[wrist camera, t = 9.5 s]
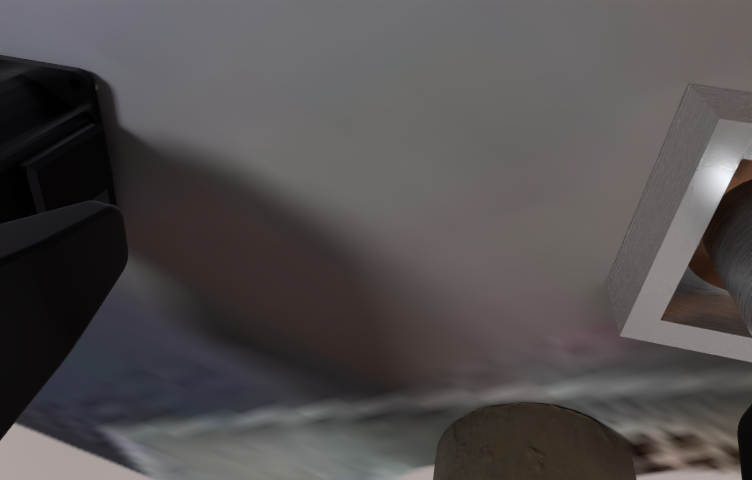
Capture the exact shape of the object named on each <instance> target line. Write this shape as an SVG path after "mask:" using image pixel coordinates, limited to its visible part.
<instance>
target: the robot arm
mask: <svg viewBox="0 0 752 480" xmlns="http://www.w3.org/2000/svg"><path fill="white" fill-rule="evenodd" d="M76 79H78V80H79V81H80V82H81V84H82V87H80V86H79V85H78V84H77V81H76ZM127 260H128V245H127V238H126V231H125V224H124V217H123V213H122V212H121V210H120V209H119V208H118V207H117V206H116V200H115V195H114V189H113V180H112V174H111V169H110V163H109V158H108V152H107V146H106V141H105V135H104V131H103V129H102V123H101V117H100V112H99V106H98V101H97V95H96V90H95V84H94V81H93V78H92V77H91V76H90V74H89V73H88V72H86V71H85V70H83V69H80V68H75V67H69V66H63V65H57V64H51V63H45V62H39V61H33V60H27V59H21V58H15V57H9V56H3V55H0V440H1V439H2V438H3V437H4V435H5V434H6V433H7V431H8V430H9V429H10V428H11V427H12V425H13V424H14V423H15V422H16V420H17V419H18V418H19V417H20V415H21V414H22V413H23V412H24V410H25V409H26V408H27V407H28V405H29V404H30V403H31V402H32V400H33V399H34V398H35V397H36V395H37V394H38V393H39V392H40V390H41V389H42V388H43V387H44V385H45V384H46V383H47V382H48V380H49V379H50V378H51V377H52V375H53V374H54V373H55V372H56V370H57V369H58V368H59V367H60V365H61V364H62V363H63V361H64V360H65V359H66V357H67V356H68V355H69V353H70V352H71V351H72V349H73V348H74V346H75V345H76V343H77V342H78V341H79V339H80V338H81V336H82V334H83V333H84V331H85V330H86V328H87V327H88V325H89V324H90V322H91V320H92V319H93V317H94V316H95V314H96V313H97V311H98V309H99V308H100V306H101V305H102V303H103V302H104V300H105V298H106V297H107V295H108V294H109V292H110V291H111V289H112V288H113V286H114V284H115V283H116V281H117V280H118V278H119V277H120V275H121V273H122V272H123V270H124V268H125V266H126V264H127ZM737 434H738V446H739V455H740V465H741V474H742V480H752V404H751V405H750V407H749V408H748V409H747V410H746V412H745V413H744V414H743V416H742V417H741V419H740V422H739V425H738V432H737Z"/></svg>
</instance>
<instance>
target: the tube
mask: <svg viewBox="0 0 752 480" xmlns="http://www.w3.org/2000/svg"><path fill="white" fill-rule="evenodd" d="M702 239H703V244H704V248H705V250H706V252H707V254H708V256H709V257H710V259H711V261H712V263H713V265H714V267H715V269H716V270H717V272H718V274H719V276H720V278H721V280H722V282H723V284H724V285H725V287H726V289H727V291H728V293H729V295H730V297H731V298H732V300H733V302H734V304H735V306H736V308H737V310H738V312H739V313H740V315H741V317H742V319H743V321H744V323H745V325H746V326H747V328H748V330H749V332H750V334H751V336H752V179H750V180H748V181H746V182H743V183H741V184H740V185H738V186H736V187H734V188H733V189H731V190H730V191H728V192H727V193H726V194H725V195H723V196H722V198H721V200H720V202H719V204H718V206H717V208H716V210H715V212H714V214H713V216H712V218H711V220H710V222H709V224H708V226H707V228H706V230H705V232H704V234H703V236H702Z"/></svg>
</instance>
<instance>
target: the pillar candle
mask: <svg viewBox="0 0 752 480" xmlns="http://www.w3.org/2000/svg"><path fill="white" fill-rule="evenodd" d="M433 480H636V476H635V471H634V466H633V461H632V459H631V458H630V457H629V456H628V454H627V452H626V450H625V449H624V447H623V446H622V445H621V443H620V442H619V441H618V440H617V439H616V438H615V437H614V436H613V435H612V434H611V433H610V432H609V431H608V430H606V429H605V428H604V427H602V426H601V425H600V424H599V423H597V422H595V421H594V420H592V419H590V418H588V417H587V416H584V415H582V414H578V413H576V412H575V411H572V410H568V409H564V408H560V407H557V406H554V405H549V406H547V405H546V404H534V403H516V404H507V405H495V406H490V407H484V408H480V409H478V410H476V411H474V412H471V413H469V414H467V415H465V417H463V418H461V419H460V420H458V421H456V422H455V423H454V424H452V425H451V426H450V427H449V429H448V430H447V431H446V432H445V433H444V434H443V436H442V437H441V439H440V442H439V444H438V448H437V453H436V459H435V469H434V478H433Z"/></svg>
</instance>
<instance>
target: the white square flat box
mask: <svg viewBox="0 0 752 480" xmlns="http://www.w3.org/2000/svg"><path fill="white" fill-rule="evenodd" d="M750 179H752V93H746V92H740V91H733V90H727V89H720V88H713V87H707V86H700V85H694V84H689V85H688V87H687V90H686V92H685V95H684V97H683V99H682V102H681V104H680V107H679V109H678V112H677V114H676V116H675V119H674V121H673V124H672V126H671V129H670V131H669V133H668V136H667V138H666V141H665V143H664V145H663V148H662V150H661V153H660V155H659V158H658V160H657V162H656V165H655V167H654V170H653V172H652V174H651V177H650V179H649V182H648V184H647V187H646V189H645V191H644V194H643V196H642V199H641V201H640V204H639V206H638V208H637V211H636V213H635V216H634V218H633V220H632V223H631V225H630V228H629V230H628V233H627V235H626V237H625V240H624V242H623V245H622V247H621V250H620V252H619V254H618V257H617V259H616V262H615V264H614V266H613V269H612V271H611V274H610V276H609V279H608V281H607V286H608V291H609V295H610V299H611V303H612V307H613V311H614V315H615V319H616V323H617V327H618V331H619V335H620V336H623V337H628V338H633V339H638V340H643V341H648V342H653V343H658V344H663V345H668V346H673V347H678V348H683V349H688V350H693V351H698V352H703V353H708V354H713V355H718V356H723V357H728V358H733V359H738V360H743V361H748V362H752V336H751V334H750V332H749V330H748V328H747V326H746V325H745V323H744V321H743V319H742V317H741V315H740V313H739V312H738V310H737V308H736V306H735V304H734V302H733V300H732V298H731V297H730V295H729V293H728V291H727V289H726V287H725V285H724V284H723V282H722V280H721V278H720V276H719V274H718V272H717V270H716V269H715V267H714V265H713V263H712V261H711V259H710V257H709V256H708V254H707V252H706V250H705V248H704V244H703V239H702V236H703V234H704V232H705V230H706V228H707V226H708V224H709V222H710V220H711V218H712V216H713V214H714V212H715V210H716V208H717V206H718V204H719V202H720V200H721V198H722V196H723V195H725V194H726V193H727V192H728V191H730V190H731V189H733V188H734V187H736V186H738V185H740V184H741V183H743V182H746V181H748V180H750Z"/></svg>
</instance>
